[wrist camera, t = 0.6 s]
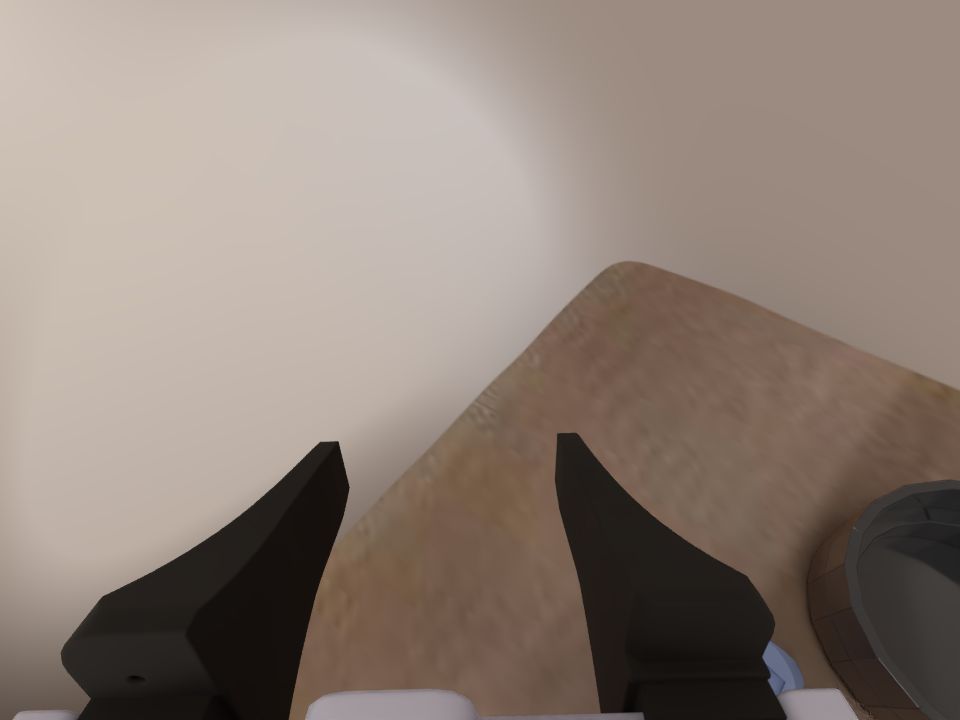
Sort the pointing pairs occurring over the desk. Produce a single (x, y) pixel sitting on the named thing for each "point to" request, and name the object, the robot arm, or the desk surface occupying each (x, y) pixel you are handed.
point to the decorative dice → (782, 669)
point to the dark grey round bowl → (895, 602)
